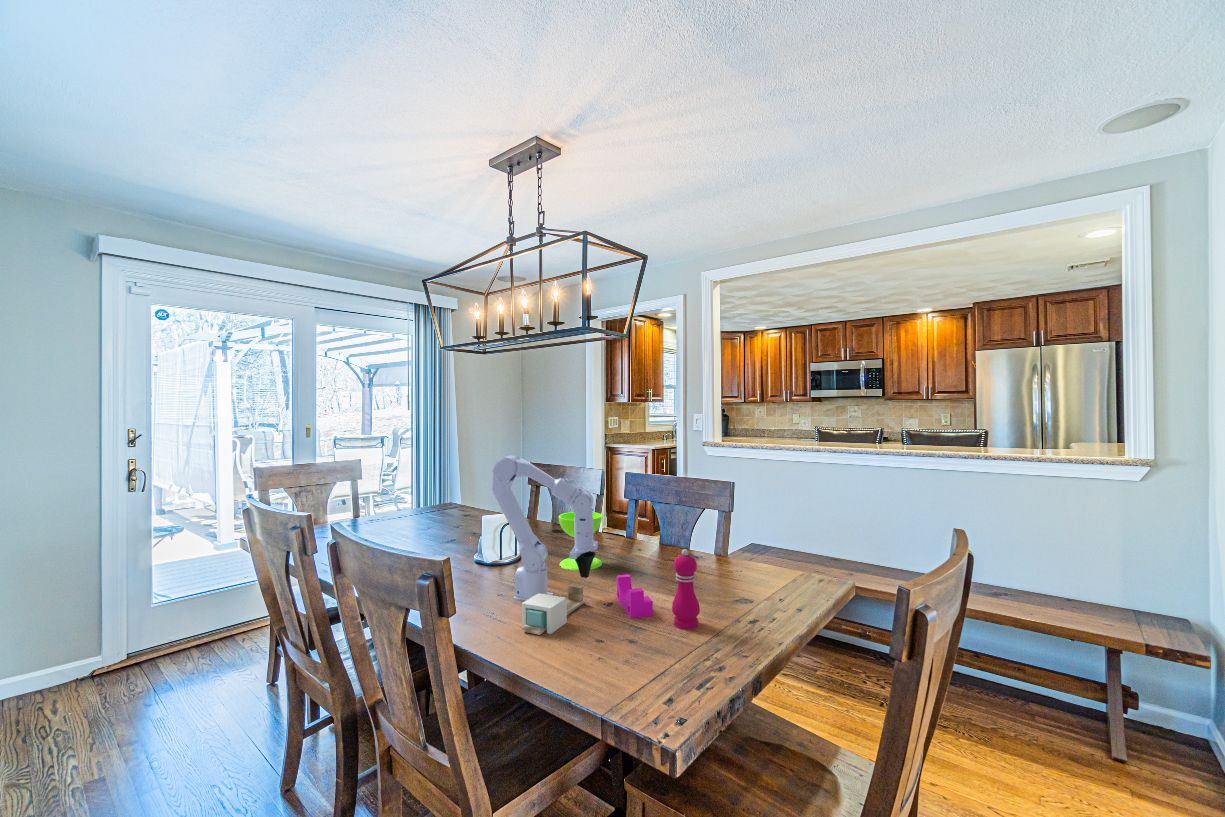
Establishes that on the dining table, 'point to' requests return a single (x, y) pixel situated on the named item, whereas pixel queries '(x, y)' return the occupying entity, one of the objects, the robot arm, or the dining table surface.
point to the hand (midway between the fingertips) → (584, 576)
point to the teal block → (537, 618)
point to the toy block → (633, 598)
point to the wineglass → (568, 526)
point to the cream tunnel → (548, 603)
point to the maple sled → (572, 603)
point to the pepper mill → (685, 593)
